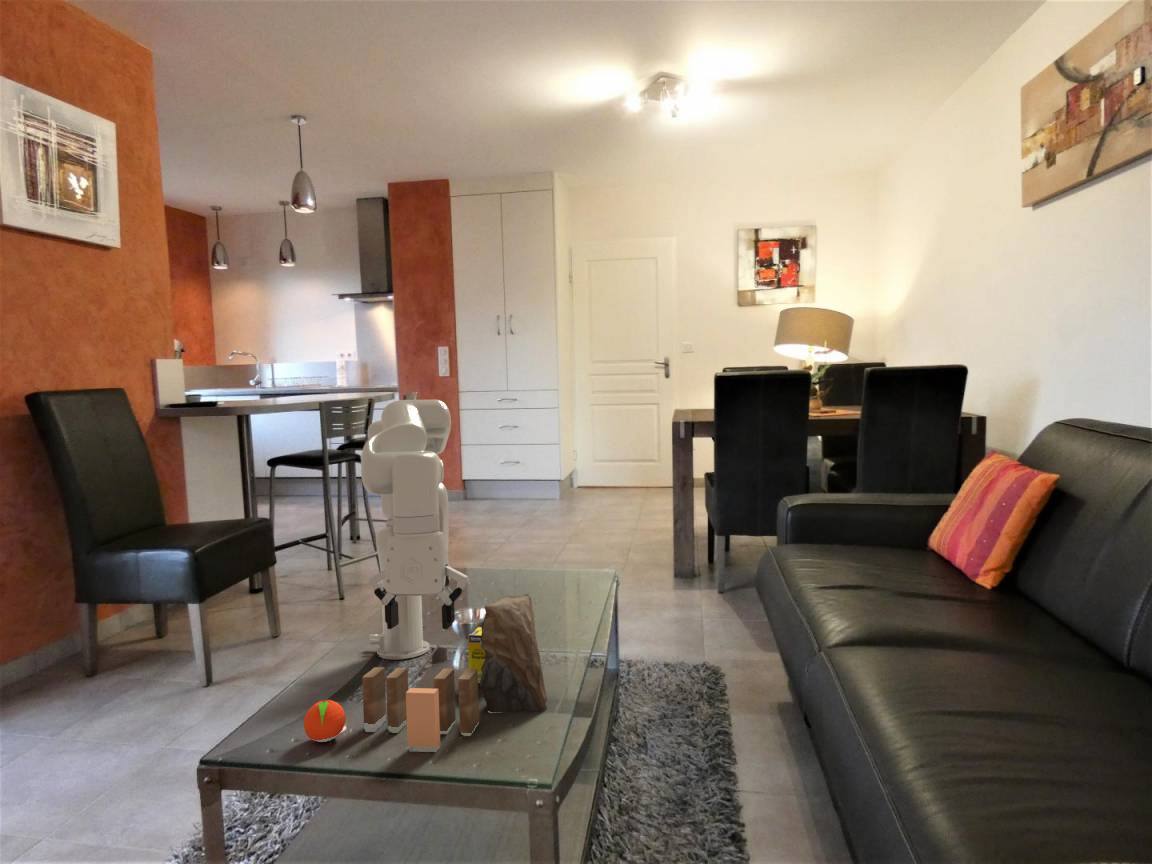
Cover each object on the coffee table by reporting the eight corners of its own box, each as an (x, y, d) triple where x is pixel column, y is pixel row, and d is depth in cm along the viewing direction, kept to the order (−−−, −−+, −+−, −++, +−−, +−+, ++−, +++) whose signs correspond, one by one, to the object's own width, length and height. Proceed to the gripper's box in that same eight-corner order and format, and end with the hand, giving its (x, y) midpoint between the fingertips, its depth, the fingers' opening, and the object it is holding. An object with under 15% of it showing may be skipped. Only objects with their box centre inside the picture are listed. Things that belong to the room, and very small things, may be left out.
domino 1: (364, 732, 119) (362, 677, 119) (376, 720, 124) (374, 667, 124) (374, 732, 119) (372, 677, 119) (386, 720, 124) (384, 667, 124)
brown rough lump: (480, 715, 125) (477, 609, 125) (483, 690, 138) (480, 593, 138) (547, 710, 126) (543, 605, 126) (544, 685, 139) (541, 590, 139)
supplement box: (496, 688, 139) (494, 635, 139) (468, 686, 140) (467, 634, 140) (504, 677, 144) (503, 627, 144) (478, 676, 146) (477, 626, 146)
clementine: (344, 749, 113) (343, 707, 113) (301, 756, 111) (299, 713, 111) (347, 729, 121) (345, 690, 121) (306, 735, 119) (305, 696, 119)
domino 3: (436, 753, 111) (434, 693, 111) (407, 752, 111) (405, 692, 111) (440, 747, 113) (438, 688, 113) (412, 746, 113) (410, 688, 113)
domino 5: (460, 735, 117) (458, 679, 117) (468, 723, 122) (466, 669, 122) (471, 736, 117) (469, 679, 117) (479, 723, 121) (477, 669, 122)
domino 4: (435, 734, 117) (433, 678, 118) (445, 722, 122) (443, 668, 122) (446, 735, 117) (444, 678, 117) (455, 723, 122) (453, 668, 122)
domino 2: (387, 733, 119) (385, 677, 119) (399, 721, 124) (397, 667, 124) (398, 733, 118) (396, 677, 119) (409, 721, 123) (407, 667, 123)
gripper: (358, 529, 110) (361, 633, 109) (458, 527, 107) (462, 634, 107) (378, 523, 117) (381, 621, 117) (472, 521, 115) (476, 621, 114)
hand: (420, 627), depth 112 cm, fingers open, 9 cm apart
